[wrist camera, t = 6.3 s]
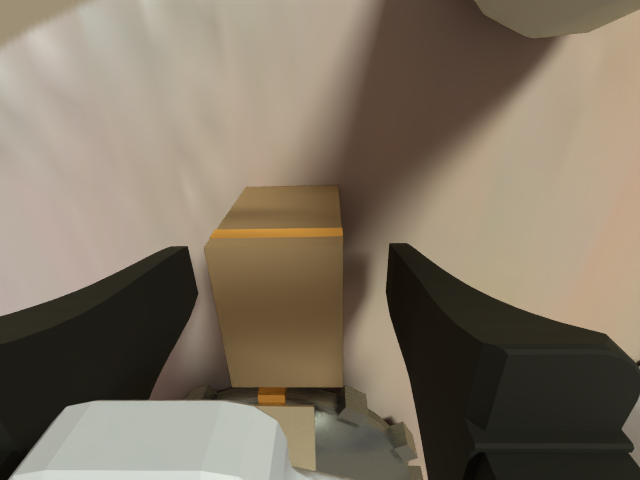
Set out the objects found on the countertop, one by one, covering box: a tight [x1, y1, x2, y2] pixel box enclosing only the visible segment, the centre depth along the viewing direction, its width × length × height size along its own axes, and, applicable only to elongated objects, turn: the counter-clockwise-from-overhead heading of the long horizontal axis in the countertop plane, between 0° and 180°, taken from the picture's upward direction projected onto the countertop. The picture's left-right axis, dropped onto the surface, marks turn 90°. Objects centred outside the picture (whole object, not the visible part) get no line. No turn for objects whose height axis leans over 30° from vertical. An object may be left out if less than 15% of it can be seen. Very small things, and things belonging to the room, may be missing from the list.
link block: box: [204, 185, 343, 387], centre depth 12 cm, size 5×4×5 cm
